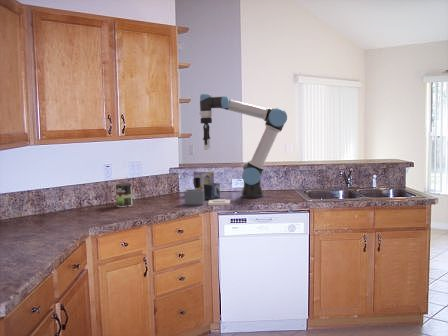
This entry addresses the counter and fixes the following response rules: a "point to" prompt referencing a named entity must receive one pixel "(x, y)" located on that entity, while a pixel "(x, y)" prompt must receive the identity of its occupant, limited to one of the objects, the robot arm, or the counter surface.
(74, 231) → the counter surface
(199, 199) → the tub
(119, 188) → the multicoloured piece
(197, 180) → the cake pan box
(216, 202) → the lid
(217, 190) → the small box
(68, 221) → the counter surface
